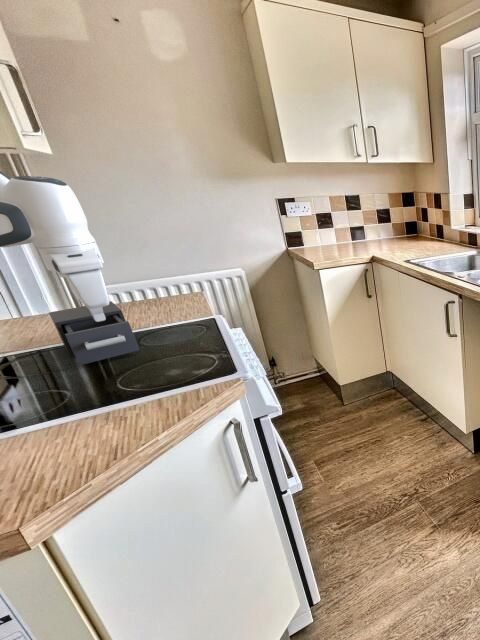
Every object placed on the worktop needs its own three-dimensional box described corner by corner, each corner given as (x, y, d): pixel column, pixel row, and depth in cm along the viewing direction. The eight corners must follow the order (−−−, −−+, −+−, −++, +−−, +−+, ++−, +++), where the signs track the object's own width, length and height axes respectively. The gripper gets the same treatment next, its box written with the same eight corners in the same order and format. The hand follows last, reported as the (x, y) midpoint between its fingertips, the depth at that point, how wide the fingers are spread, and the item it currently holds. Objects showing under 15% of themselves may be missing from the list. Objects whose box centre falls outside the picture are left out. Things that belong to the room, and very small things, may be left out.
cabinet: (134, 343, 115) (121, 309, 112) (71, 358, 106) (54, 322, 103) (123, 332, 124) (111, 301, 120) (64, 345, 115) (48, 312, 111)
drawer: (143, 354, 106) (132, 325, 103) (82, 370, 98) (67, 339, 95) (129, 339, 116) (118, 312, 113) (71, 352, 108) (58, 324, 105)
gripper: (47, 255, 93) (74, 314, 98) (58, 266, 81) (88, 333, 86) (85, 251, 97) (109, 308, 103) (102, 260, 85) (128, 324, 90)
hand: (100, 319), depth 94 cm, fingers closed
